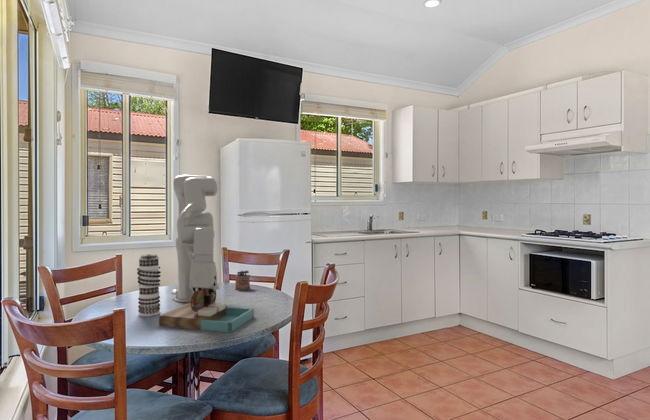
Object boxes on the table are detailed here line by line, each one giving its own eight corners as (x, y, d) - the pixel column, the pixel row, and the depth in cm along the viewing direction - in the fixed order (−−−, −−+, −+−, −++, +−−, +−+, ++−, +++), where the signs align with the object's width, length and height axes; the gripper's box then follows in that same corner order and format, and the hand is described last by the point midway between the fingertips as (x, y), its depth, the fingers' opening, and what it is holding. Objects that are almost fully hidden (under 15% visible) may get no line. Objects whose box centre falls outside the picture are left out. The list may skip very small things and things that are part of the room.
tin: (195, 315, 155) (197, 293, 155) (188, 313, 156) (189, 291, 155) (216, 305, 169) (217, 285, 169) (209, 304, 170) (210, 284, 170)
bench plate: (158, 325, 156) (158, 315, 156) (188, 312, 175) (188, 302, 175) (201, 329, 152) (201, 319, 152) (226, 315, 171) (226, 305, 171)
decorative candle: (137, 311, 176) (137, 253, 175) (160, 309, 179) (160, 252, 179) (136, 317, 167) (136, 256, 167) (161, 315, 171) (161, 255, 170)
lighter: (236, 290, 218) (236, 271, 218) (234, 289, 221) (234, 270, 221) (250, 289, 222) (250, 270, 222) (248, 287, 225) (248, 269, 225)
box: (201, 329, 152) (201, 320, 152) (226, 315, 171) (226, 306, 171) (230, 332, 149) (230, 322, 149) (253, 317, 168) (253, 308, 168)
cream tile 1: (198, 315, 156) (198, 310, 156) (205, 311, 161) (205, 306, 161) (209, 316, 155) (209, 311, 155) (216, 312, 160) (216, 307, 160)
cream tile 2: (207, 310, 163) (207, 305, 163) (214, 307, 168) (214, 302, 168) (219, 311, 162) (219, 306, 162) (225, 308, 167) (225, 303, 167)
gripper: (180, 258, 160) (180, 305, 161) (217, 260, 156) (217, 308, 157) (191, 256, 168) (191, 301, 168) (226, 258, 164) (226, 303, 164)
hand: (203, 304), depth 162 cm, fingers closed on tin, 2 cm apart
